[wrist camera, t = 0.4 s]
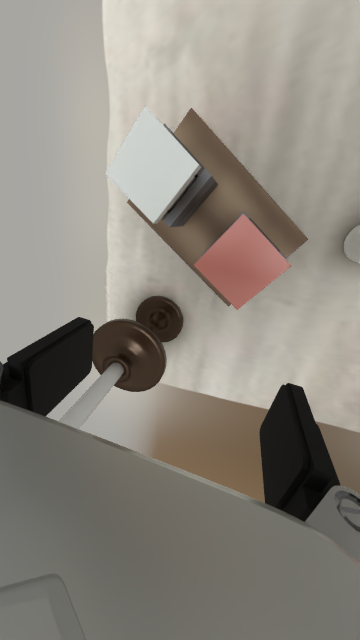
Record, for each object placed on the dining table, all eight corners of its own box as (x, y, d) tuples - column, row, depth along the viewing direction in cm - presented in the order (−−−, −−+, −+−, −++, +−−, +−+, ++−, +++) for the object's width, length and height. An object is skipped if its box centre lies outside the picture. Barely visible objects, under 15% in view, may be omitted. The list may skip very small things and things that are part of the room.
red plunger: (243, 215, 28) (243, 213, 20) (279, 254, 28) (291, 265, 21) (205, 254, 31) (193, 265, 23) (238, 289, 31) (237, 309, 24)
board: (195, 117, 31) (176, 75, 22) (303, 237, 33) (324, 243, 24) (135, 203, 37) (101, 198, 28) (229, 300, 40) (225, 323, 31)
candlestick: (177, 352, 46) (37, 627, 15) (128, 330, 47) (-101, 546, 16) (196, 305, 41) (50, 564, 10) (141, 282, 42) (-149, 453, 11)
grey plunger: (172, 137, 27) (145, 105, 19) (211, 180, 27) (199, 164, 20) (139, 185, 29) (104, 173, 22) (175, 223, 30) (153, 223, 23)
